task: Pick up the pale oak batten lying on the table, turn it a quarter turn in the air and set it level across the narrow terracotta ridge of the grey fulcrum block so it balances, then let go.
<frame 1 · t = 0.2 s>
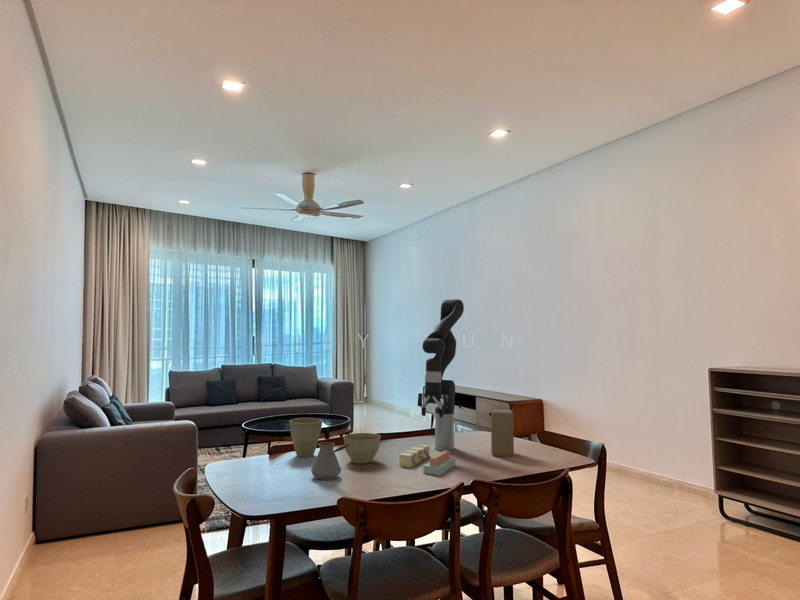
hand: (432, 416, 234), 17 cm above the table, tool pointing down, fingers open, 8 cm apart
coffee pot: (332, 480, 192), on the table
fulcrum: (439, 469, 209), on the table
batten: (415, 461, 222), on the table
planter bowl: (361, 461, 221), on the table
wooden block: (502, 454, 236), on the table
plant pot: (305, 456, 230), on the table
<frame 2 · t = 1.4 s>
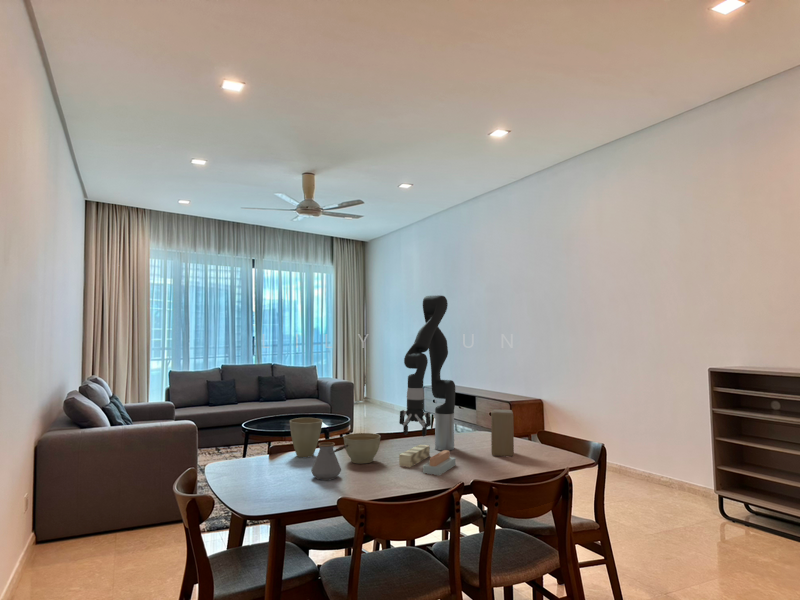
hand: (414, 435, 223), 11 cm above the table, tool pointing down, fingers open, 8 cm apart
nothing on the table moved.
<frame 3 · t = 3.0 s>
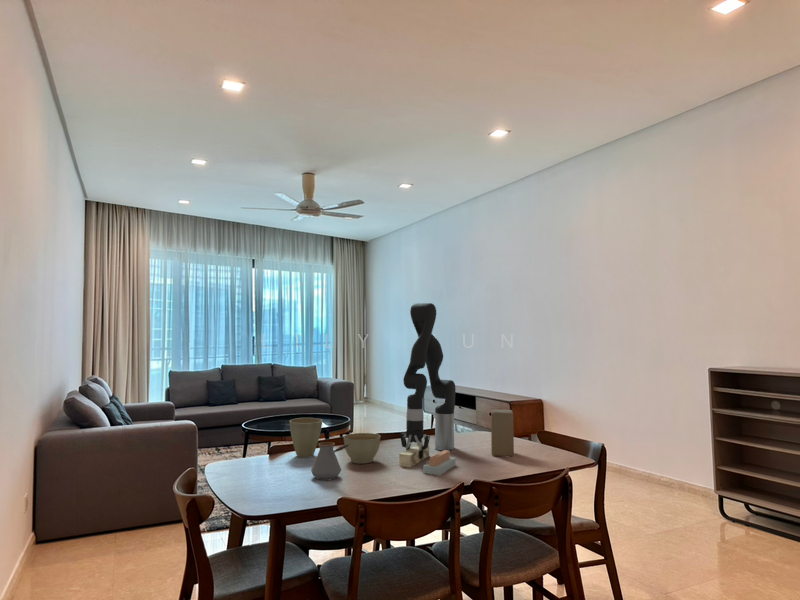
hand: (414, 457, 223), 1 cm above the table, tool pointing down, fingers closed on batten, 5 cm apart
batten: (414, 460, 222), on the table, touching gripper
everything else where it was.
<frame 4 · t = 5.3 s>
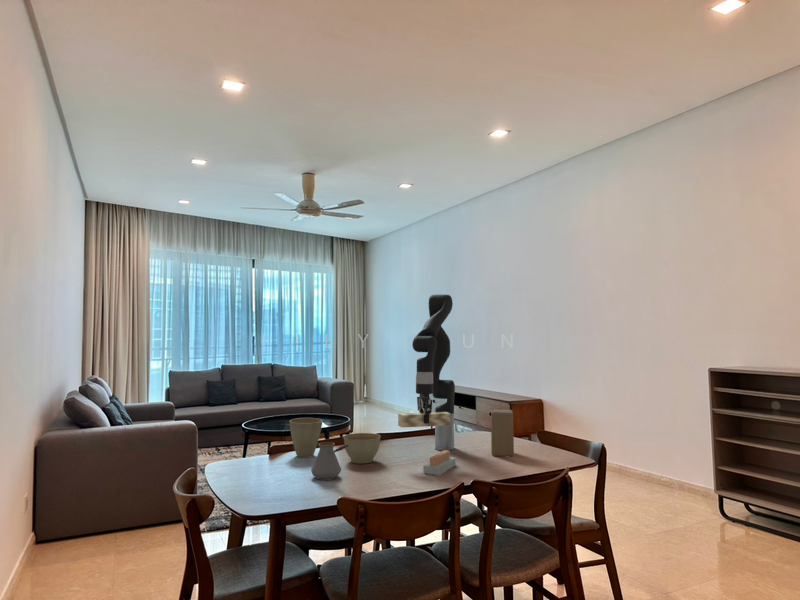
hand: (424, 422, 217), 18 cm above the table, tool pointing down, fingers closed on batten, 5 cm apart
batten: (424, 425, 217), point 16 cm above the table, touching gripper
everything else where it was.
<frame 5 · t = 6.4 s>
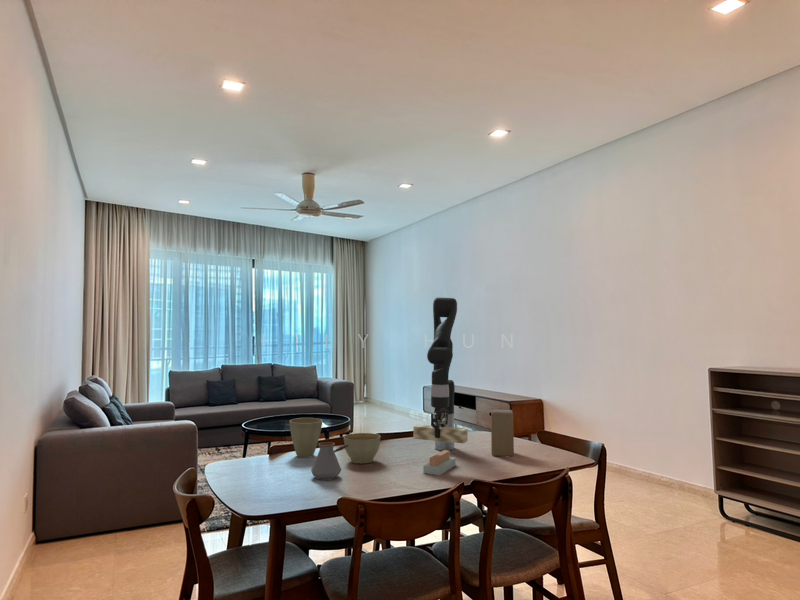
hand: (440, 436, 210), 13 cm above the table, tool pointing down, fingers closed on batten, 5 cm apart
batten: (440, 439, 209), point 12 cm above the table, touching gripper
everything else where it was.
when the fingers open (8 cm above the table, at t = 7.6 s): batten stays where it is, resting on fulcrum.
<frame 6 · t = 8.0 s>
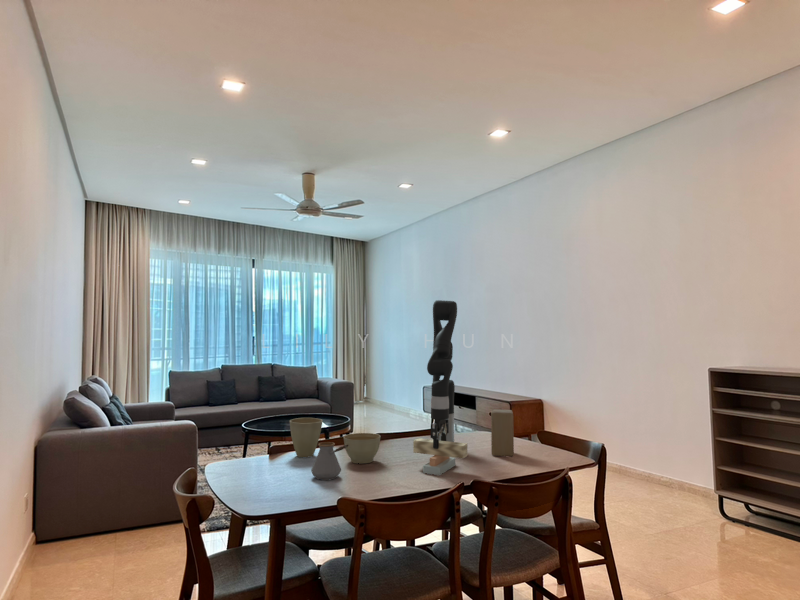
hand: (439, 446, 209), 9 cm above the table, tool pointing down, fingers open, 8 cm apart
batten: (440, 454, 209), point 6 cm above the table, touching fulcrum
everything else where it was.
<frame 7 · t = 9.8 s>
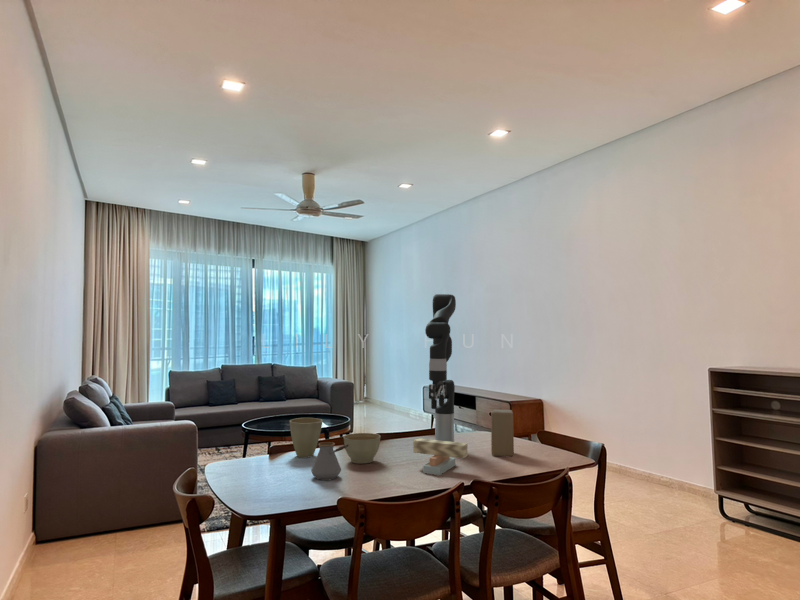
hand: (437, 407, 215), 24 cm above the table, tool pointing down, fingers open, 8 cm apart
nothing on the table moved.
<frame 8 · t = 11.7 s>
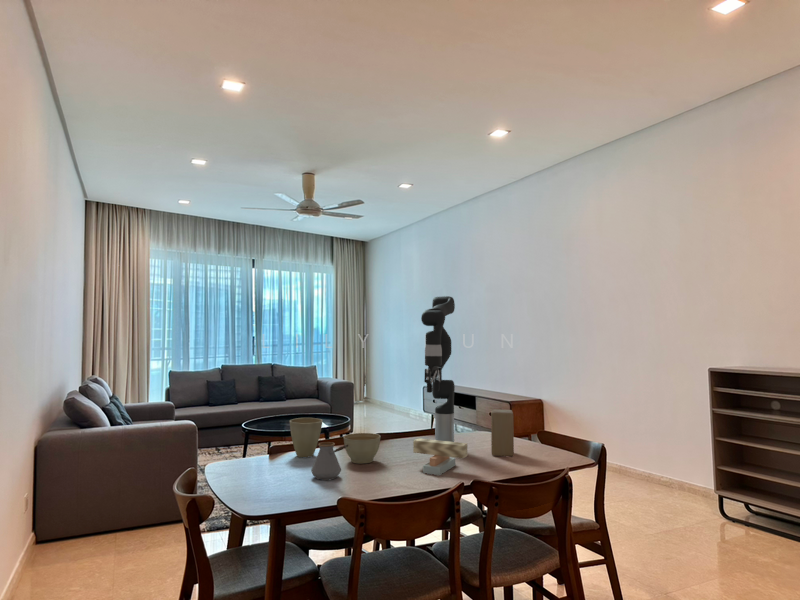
hand: (433, 391, 225), 30 cm above the table, tool pointing down, fingers open, 8 cm apart
nothing on the table moved.
at the end: batten 0.1 cm off-centre on the fulcrum, point 6.0 cm above the fulcrum's base; batten tilted 0°; batten touching fulcrum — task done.
